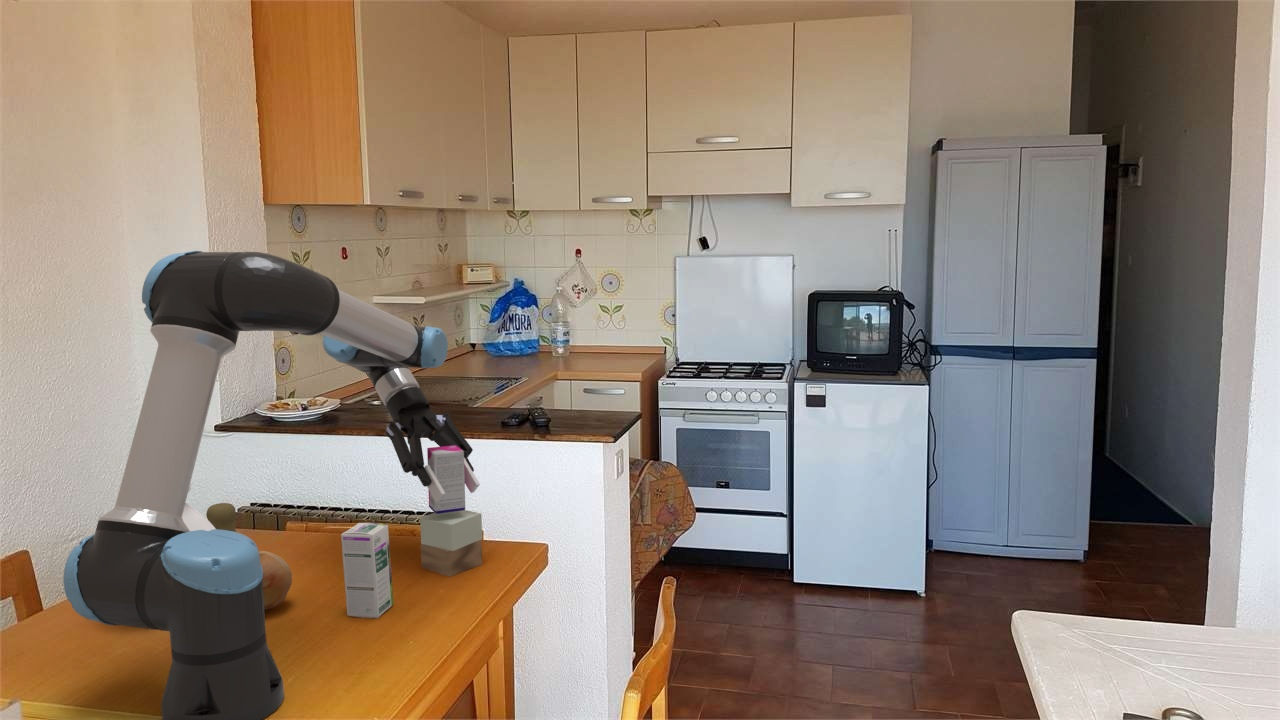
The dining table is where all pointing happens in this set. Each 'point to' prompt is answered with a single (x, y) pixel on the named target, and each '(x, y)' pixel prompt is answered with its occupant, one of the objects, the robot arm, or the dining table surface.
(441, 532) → the tower top slab
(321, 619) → the dining table surface
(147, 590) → the robot arm
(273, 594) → the onion
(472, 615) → the dining table surface
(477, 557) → the tower base slab
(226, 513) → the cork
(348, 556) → the syrup box
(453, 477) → the supplement box
